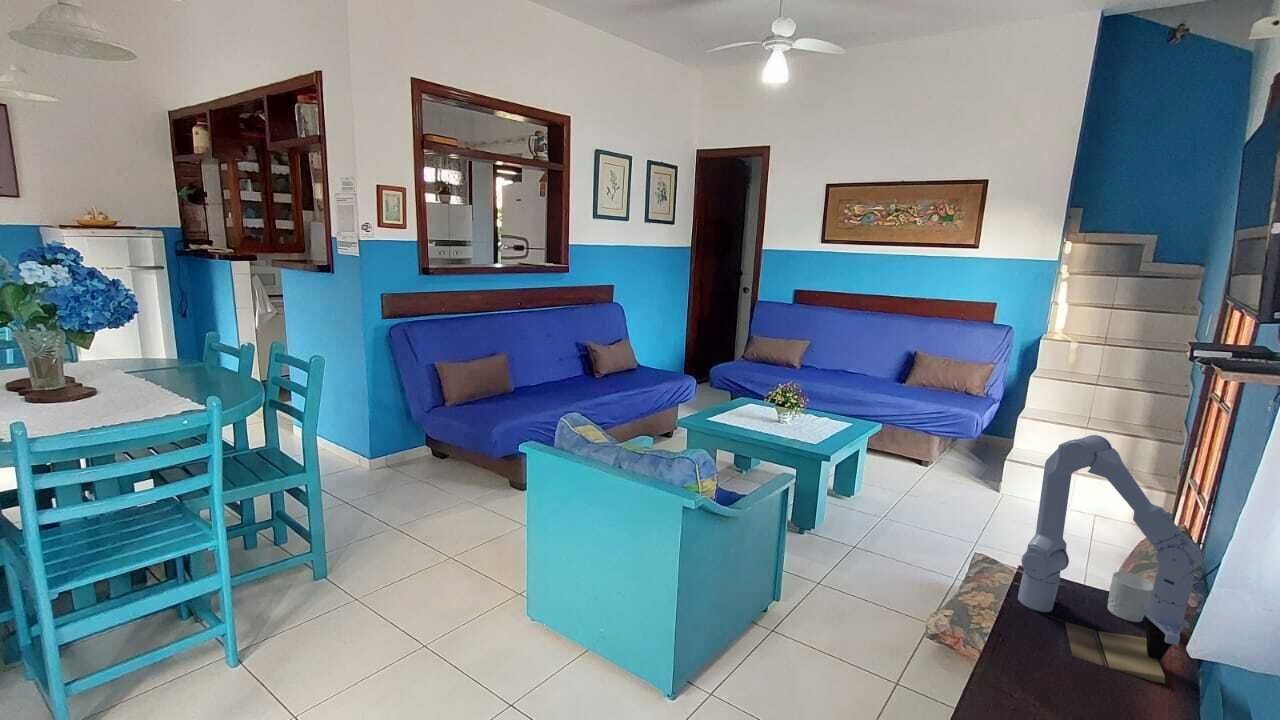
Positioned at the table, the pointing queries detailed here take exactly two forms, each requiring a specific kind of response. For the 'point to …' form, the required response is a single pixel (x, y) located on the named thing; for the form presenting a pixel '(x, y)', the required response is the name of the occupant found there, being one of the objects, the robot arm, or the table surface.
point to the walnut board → (1085, 644)
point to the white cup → (1129, 596)
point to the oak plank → (1131, 656)
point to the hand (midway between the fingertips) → (1153, 656)
